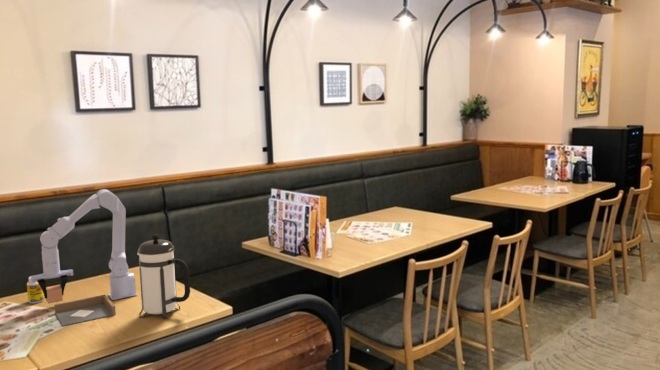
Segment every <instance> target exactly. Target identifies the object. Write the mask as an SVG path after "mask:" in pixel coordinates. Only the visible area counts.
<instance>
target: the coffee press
mask: <svg viewBox="0 0 660 370" xmlns="http://www.w3.org/2000/svg"><path fill="white" fill-rule="evenodd" d="M151 238H152V239H151V240H147V241H144V242H143V243H141V244H140V245H139V246H138V247H139V248H138V249H137V256H138V257H139V258H138V264H139V280H140V281H139V282H140V295H141V297H140V299H141V310H140V312H139V313H138V315H139V317H140V318H144V317H145V315H147V314H148V315H162V316H161V318H162V320H166V319H168V313H169V312H172V311H173V310H174V309H175V310H177V308H176V307H177V306H178V308H179V310H180V309H181V306H180V305H179V304H178V303H181V302H185V301H186V300H187V299H189V297H190V295H191V282H190V281H191V278H190V270H189V267H188V265H187V262H186V261H184V260H182V259H179V258H175V254H174V252H175V246H174V245H173V243H172V242H171V241H169V240H166V239H159V238H160V236H159V235H158V234H156V233H155V234H153V235H152V237H151ZM176 265H179V266H180V267H181V268H182V271H183V280H184V281H183V284H184V295H182V296H177V285H176V268H175V267H176ZM143 311H144V313H143ZM142 313H143V314H142Z"/></svg>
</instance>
